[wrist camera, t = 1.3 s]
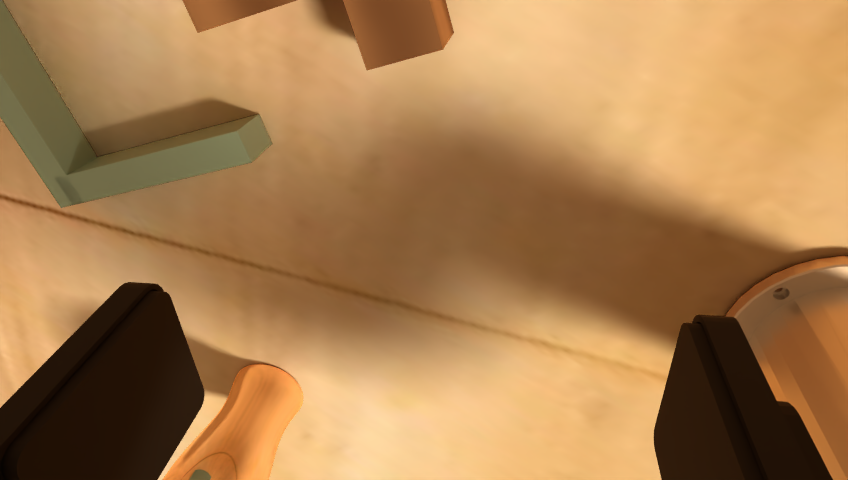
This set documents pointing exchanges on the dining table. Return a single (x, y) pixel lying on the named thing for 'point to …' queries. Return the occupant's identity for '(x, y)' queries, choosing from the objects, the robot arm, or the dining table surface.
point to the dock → (71, 152)
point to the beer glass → (243, 429)
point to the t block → (355, 24)
